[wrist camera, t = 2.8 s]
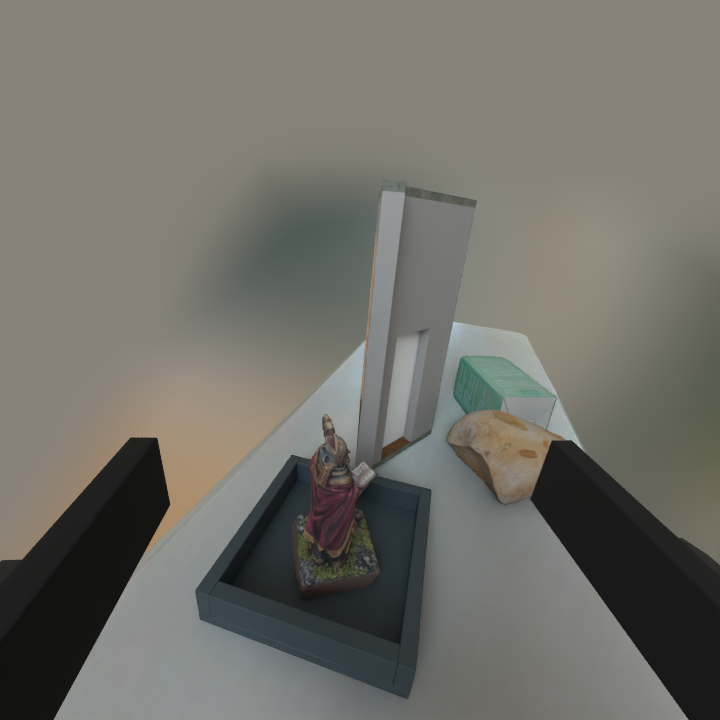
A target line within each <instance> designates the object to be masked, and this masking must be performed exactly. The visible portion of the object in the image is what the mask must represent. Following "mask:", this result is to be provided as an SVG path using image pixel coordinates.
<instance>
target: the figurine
mask: <svg viewBox="0 0 720 720" xmlns="http://www.w3.org/2000/svg"><path fill="white" fill-rule="evenodd" d="M322 422H323V423H322V425H323V430H324V437H325V441H326V443H325V444H323V445H321V446H320V447H319V448H318V450H317V451H316V453H315V455H314V456H313V457H312V459H311V461H310V472H311V473H310V475H311V480H310V482H312V484H311V497H310V498H311V508H310V512H309V515H308V516H304V515H303V514H301V515H299V516H298V517H297V518H296V520H295V521H294V522H293V524H292V527H291V528H292V535H293V545H294V546H293V554H294V563H295V564H294V565H295V568H294V569H295V571H296V572H295V574H296V577H297V581H298V583H299V593H300V594H301V596H304V597H305V598H308V599H310V598H314V597H320V596H325V595H329V594H336V593H337V594H338V593H340V592H341V593H343V592H349V591H353V590H360V589H364V588H365V589H366V588H368V585H370V584H371V583H372V582H373V580H374V579H375V578H376V577H377V575H379V574H380V573H381V571H380V569H379V562H378V560H377V557H376V554H375V551H374V547H373V542H372V540H371V536H370V533H369V529H368V526H367V523H366V520H365V517H364V513H363V511H362V510H360V509H358V510H357V508H356V505H357V500H358V497H359V496H360V494H361V493H362V492H363V490H364V489H365V488H366V487H367V486H368V485H369V483H370V481H371V480H372V479H373V478H375V477H376V476H377V474H376V473H375V472H374V470H371V469H370V468H369V467H368V466H367V465H366V463H365V462H363V461H362V462H361V463H360V464H359V465H358V466H356V467H355V468H354V469H351V467H350V466H349V462H350V459H349V457H348V453H350V451H349V450H348V449H347V445H346V442H345V441H344V440H343V439H342V438H341V437H339V436H338V435H337V434H335V430H334V426H333V424H332V420H331V419H330V418H329V416H328V415H327V414H324V416H323V419H322Z"/></svg>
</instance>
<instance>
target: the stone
mask: <svg viewBox="0 0 720 720" xmlns="http://www.w3.org/2000/svg"><path fill="white" fill-rule="evenodd" d="M552 440H565V439H564V438H562V437H561V436H559V435H556V434H554V433H551V432H549V431H547V430H545V429H544V428H542V427H540V426H538V425H535V424H533V423H531V422H528V421H526V420H524V419H522V418H519V417H517V416H515V415H512V414H510V413H507V412H504V411H499V410H480V411H475V412H471V413H469V414H467V415H465V416H463V417H462V418H461V419H460V420H459V421H457V422H456V423H455V424H454V425H453V426H452V428H451V429H450V431H449V434H448V436H447V442H448V443H449V444H450V445H451V446H452V447H453V448H454V450H455V452H456V453H457V454H458V456H459V457H460V458H461V459H462V460H463V461H464V462H465V463H466V464H467V465H468V466H469V467H471V468H472V469H473V470H474V471H475V472H476V474H477V475H478V476H479V477H480V478H482V479H483V480H484V481H485V483H486V484H487V485H488V486H489V488H491V489H492V490H494V491H495V492H496V494H497V499H498V500H499V501H500V502H501V503H503V504H510V503H515V502H518V501H521V500H523V499H526V498H529V497H531V496H532V493H533V490H534V488H535V485H536V482H537V479H538V477H539V474H540V471H541V468H542V466H543V463H544V460H545V457H546V455H547V452H548V449H549V446H550V444H551V441H552Z"/></svg>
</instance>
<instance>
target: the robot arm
mask: <svg viewBox="0 0 720 720" xmlns="http://www.w3.org/2000/svg"><path fill="white" fill-rule="evenodd" d="M530 500H531V501H532V502H533V504H534V505H535V507H536V508H537V509H538V511H539V512H540V514H541V515H542V516H543V518H544V519H545V520H546V522H547V523H548V525H549V526H550V527H551V529H552V530H553V532H554V533H555V534H556V536H557V537H558V539H559V540H560V541H561V543H562V544H563V546H564V547H565V548H566V550H567V551H568V552H569V554H570V555H571V557H572V558H573V559H574V561H575V562H576V564H577V565H578V566H579V568H580V569H581V571H582V572H583V573H584V575H585V576H586V578H587V579H588V580H589V582H590V583H591V584H592V586H593V587H594V589H595V590H596V591H597V593H598V594H599V596H600V597H601V598H602V600H603V601H604V603H605V604H606V605H607V607H608V608H609V610H610V611H611V612H612V614H613V615H614V616H615V618H616V619H617V621H618V622H619V623H620V625H621V626H622V628H623V629H624V630H625V632H626V633H627V635H628V636H629V637H630V639H631V640H632V641H633V643H634V644H635V646H636V647H637V648H638V650H639V651H640V653H641V654H642V655H643V657H644V658H645V660H646V661H647V662H648V664H649V665H650V667H651V668H652V669H653V671H654V672H655V673H656V675H657V676H658V678H659V679H660V680H661V682H662V683H663V685H664V686H665V687H666V689H667V690H668V692H669V693H670V694H671V696H672V697H673V699H674V700H675V701H676V703H677V704H678V705H679V707H680V708H681V710H682V711H683V712H684V714H685V715H686V717H687V718H688V719H689V720H720V565H719V564H718V563H716V562H715V561H714V560H713V559H712V558H711V557H710V556H708V555H707V554H706V553H704V552H702V551H701V550H699V549H698V548H696V547H695V546H693V545H692V544H690V543H689V542H687V541H686V540H684V539H683V538H678V537H676V536H675V535H674V534H673V533H672V532H671V531H670V530H669V529H668V528H667V527H666V526H664V525H663V524H662V523H661V522H660V521H659V520H658V519H657V518H656V517H655V516H653V515H652V514H651V513H650V512H649V511H648V510H647V509H646V508H645V507H643V505H641V504H640V503H639V502H638V501H637V500H636V499H635V498H634V497H633V496H632V495H631V494H629V493H628V492H627V491H626V490H625V489H624V488H623V487H622V486H621V485H620V484H619V483H617V482H616V481H615V480H614V479H613V478H612V477H611V476H610V475H609V474H608V473H606V472H605V471H604V470H603V469H602V468H601V467H600V466H599V465H598V464H597V463H596V462H595V461H593V460H592V459H591V458H590V457H589V456H588V455H587V454H586V453H585V452H584V451H583V450H581V449H580V448H579V447H578V446H577V445H576V444H575V443H574V442H573V441H572V440H552V441H551V444H550V446H549V449H548V452H547V455H546V457H545V460H544V463H543V466H542V468H541V471H540V474H539V477H538V479H537V482H536V485H535V488H534V490H533V493H532V496H531V499H530ZM169 506H170V501H169V496H168V491H167V486H166V481H165V475H164V470H163V465H162V460H161V455H160V450H159V444H158V440H157V438H130V439H129V440H128V441H127V442H126V443H125V444H124V446H123V447H122V448H121V449H120V450H119V452H117V453H116V455H115V456H114V457H113V458H112V459H111V460H110V461H109V463H108V464H107V465H106V466H105V467H104V468H103V469H102V471H100V473H99V474H98V475H97V476H96V477H95V478H94V479H93V481H92V482H91V483H90V484H89V485H88V486H87V487H86V488H85V490H84V491H83V492H82V493H81V494H80V495H79V496H78V497H77V499H76V500H75V501H74V502H73V503H72V504H71V505H70V507H69V508H68V509H67V510H66V511H65V512H64V513H63V514H62V515H61V517H60V518H59V519H58V520H57V521H56V522H55V523H54V524H53V526H52V527H51V528H50V529H49V530H48V531H47V532H46V534H45V535H44V536H43V537H42V538H41V539H40V540H39V541H38V543H37V544H36V545H35V546H34V547H33V548H32V549H31V550H30V552H29V553H28V554H27V555H26V556H25V557H24V558H23V559H22V560H2V561H1V562H0V720H54V718H55V716H56V714H57V712H58V710H59V709H60V707H61V705H62V703H63V701H64V699H65V698H66V696H67V694H68V692H69V690H70V688H71V686H72V685H73V683H74V681H75V679H76V677H77V675H78V674H79V672H80V670H81V668H82V666H83V664H84V663H85V661H86V659H87V657H88V655H89V653H90V651H91V650H92V648H93V646H94V644H95V642H96V640H97V639H98V637H99V635H100V633H101V631H102V629H103V628H104V626H105V624H106V622H107V620H108V618H109V616H110V615H111V613H112V611H113V609H114V607H115V605H116V604H117V602H118V600H119V598H120V596H121V594H122V593H123V591H124V589H125V587H126V585H127V583H128V582H129V580H130V578H131V576H132V574H133V572H134V570H135V569H136V567H137V565H138V563H139V561H140V559H141V558H142V556H143V554H144V552H145V550H146V548H147V547H148V545H149V543H150V541H151V539H152V537H153V535H154V534H155V532H156V530H157V528H158V526H159V524H160V522H161V521H162V519H163V517H164V515H165V513H166V512H167V510H168V508H169Z"/></svg>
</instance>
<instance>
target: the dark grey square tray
mask: <svg viewBox="0 0 720 720" xmlns="http://www.w3.org/2000/svg"><path fill="white" fill-rule="evenodd" d="M310 461H311V460H310V459H306V458H302V457H298V456H294V455H291V457H290V458H289V460H288V461H287V462H286V464H285V465H284V467H283V468H282V469H281V471H280V472H279V474H278V475H277V476H276V478H275V479H274V481H273V482H272V483H271V485H270V486H269V488H268V489H267V490H266V492H265V493H264V495H263V496H262V497H261V499H260V500H259V502H258V503H257V505H256V506H255V507H254V509H253V510H252V512H251V513H250V514H249V516H248V517H247V519H246V520H245V521H244V523H243V524H242V526H241V527H240V528H239V530H238V531H237V533H236V534H235V535H234V537H233V538H232V540H231V541H230V542H229V544H228V545H227V547H226V548H225V550H224V551H223V552H222V554H221V555H220V557H219V558H218V559H217V561H216V562H215V564H214V565H213V566H212V568H211V569H210V571H209V572H208V573H207V575H206V576H205V578H204V579H203V580H202V582H201V583H200V585H199V586H198V587H197V589H196V591H195V592H196V598H197V604H198V610H199V616H200V620H203V621H206V622H208V623H211V624H213V625H216V626H219V627H221V628H224V629H226V630H229V631H232V632H234V633H237V634H239V635H242V636H245V637H247V638H250V639H253V640H255V641H258V642H260V643H263V644H266V645H268V646H271V647H273V648H276V649H279V650H281V651H284V652H286V653H289V654H292V655H294V656H297V657H300V658H302V659H305V660H307V661H310V662H313V663H315V664H318V665H320V666H323V667H326V668H328V669H331V670H333V671H336V672H339V673H341V674H344V675H347V676H349V677H352V678H354V679H357V680H360V681H362V682H365V683H367V684H370V685H373V686H375V687H378V688H380V689H383V690H386V691H388V692H391V693H394V694H396V695H399V696H401V697H404V698H407V699H408V697H409V694H410V690H411V686H412V682H413V679H414V675H415V671H416V661H417V649H418V638H419V626H420V615H421V603H422V592H423V580H424V569H425V557H426V545H427V534H428V522H429V511H430V499H431V490H430V489H426V488H422V487H421V488H420V487H418V486H414V485H410V484H406V483H402V482H398V481H394V480H390V479H386V478H382V477H378V476H376V477H375V478H373V479H372V480H371V481H370V483H369V485H368V486H367V487H366V488H365V489H364V490H363V492H362V493H361V494H360V496H359V497H358V500H357V505H356V508H357V510H358V509H360V510H362V511H363V513H364V517H365V520H366V523H367V526H368V529H369V533H370V536H371V540H372V542H373V547H374V551H375V554H376V557H377V560H378V562H379V569H380V571H381V573H380V574H379V575H377V577H376V578H375V579H374V580H373V582H372V583H371V584H370V585H368V588H366V589H365V588H364V589H360V590H353V591H349V592H343V593H341V592H340V593H338V594H337V593H336V594H329V595H325V596H320V597H314V598H310V599H308V598H305V597H304V596H301V594H300V593H299V583H298V581H297V577H296V574H295V572H296V571H295V569H294V568H295V565H294V564H295V563H294V554H293V546H294V545H293V535H292V528H291V527H292V524H293V522H294V521H295V520H296V518H297V517H298V516H299V515H301V514H303V515H304V516H308V515H309V512H310V508H311V498H310V497H311V484H312V482H310V480H311V475H310V473H311V472H310Z"/></svg>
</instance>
